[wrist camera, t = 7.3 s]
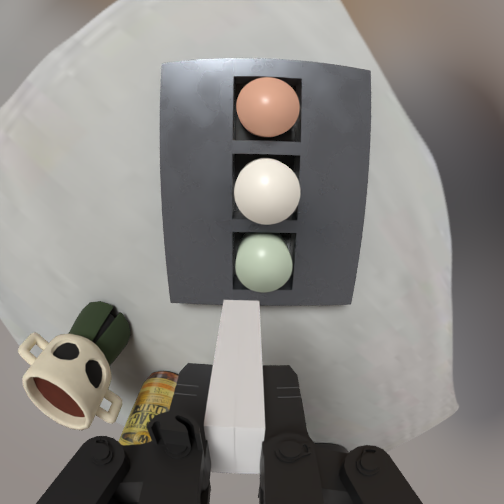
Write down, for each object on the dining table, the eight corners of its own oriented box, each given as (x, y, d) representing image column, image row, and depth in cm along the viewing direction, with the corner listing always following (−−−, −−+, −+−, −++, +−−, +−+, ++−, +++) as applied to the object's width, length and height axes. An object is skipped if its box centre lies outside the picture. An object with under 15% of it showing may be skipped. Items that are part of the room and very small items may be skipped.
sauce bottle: (195, 373, 32) (164, 531, 13) (192, 405, 34) (168, 542, 16) (142, 362, 32) (85, 507, 13) (144, 394, 34) (102, 524, 15)
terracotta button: (292, 138, 23) (299, 137, 19) (238, 137, 23) (235, 135, 19) (293, 88, 21) (300, 79, 18) (238, 86, 21) (236, 76, 18)
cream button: (291, 213, 23) (298, 225, 20) (236, 212, 23) (234, 224, 20) (294, 158, 22) (301, 160, 19) (237, 157, 22) (234, 159, 19)
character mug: (161, 334, 30) (123, 428, 18) (132, 365, 32) (95, 449, 20) (82, 271, 27) (10, 341, 15) (62, 310, 29) (2, 379, 17)
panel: (342, 289, 28) (350, 304, 25) (178, 287, 28) (170, 302, 25) (357, 77, 21) (370, 70, 18) (171, 71, 21) (161, 63, 18)
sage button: (285, 274, 27) (290, 292, 24) (237, 273, 27) (235, 292, 24) (288, 227, 25) (294, 240, 22) (237, 226, 25) (235, 239, 22)
